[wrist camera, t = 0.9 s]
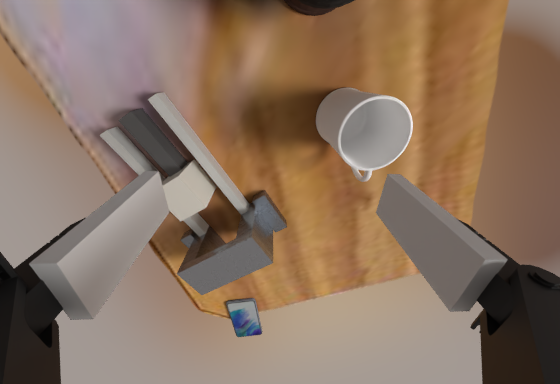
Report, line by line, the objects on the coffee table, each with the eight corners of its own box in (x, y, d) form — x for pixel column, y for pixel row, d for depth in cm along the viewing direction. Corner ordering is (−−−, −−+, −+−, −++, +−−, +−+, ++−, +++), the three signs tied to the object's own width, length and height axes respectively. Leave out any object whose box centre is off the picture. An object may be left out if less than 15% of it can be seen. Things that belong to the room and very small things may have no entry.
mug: (365, 160, 37) (403, 193, 27) (316, 165, 38) (334, 200, 27) (372, 84, 32) (423, 88, 21) (314, 90, 32) (336, 97, 21)
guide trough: (110, 131, 34) (99, 135, 31) (164, 92, 31) (156, 93, 29) (203, 228, 43) (199, 236, 41) (249, 203, 41) (248, 211, 38)
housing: (183, 233, 43) (160, 276, 34) (264, 189, 39) (262, 224, 30) (209, 258, 47) (194, 303, 37) (286, 220, 43) (290, 260, 33)
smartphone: (254, 299, 53) (262, 334, 60) (255, 296, 53) (262, 331, 61) (225, 303, 53) (236, 337, 60) (225, 299, 53) (236, 334, 60)
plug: (124, 121, 33) (90, 131, 27) (148, 103, 32) (119, 110, 26) (194, 199, 40) (180, 221, 34) (216, 186, 39) (206, 207, 33)
